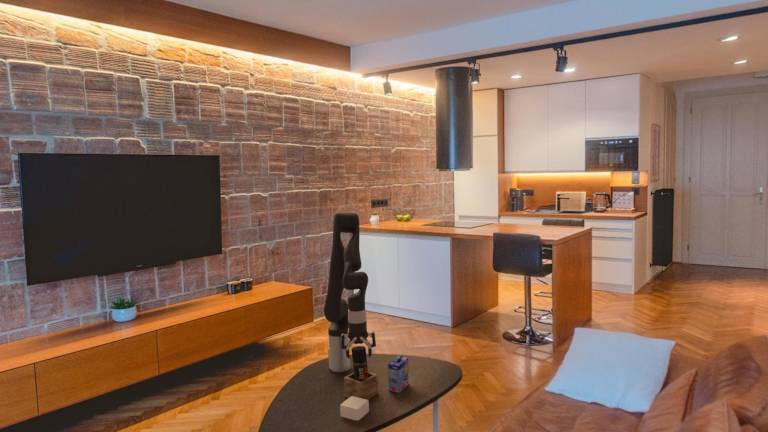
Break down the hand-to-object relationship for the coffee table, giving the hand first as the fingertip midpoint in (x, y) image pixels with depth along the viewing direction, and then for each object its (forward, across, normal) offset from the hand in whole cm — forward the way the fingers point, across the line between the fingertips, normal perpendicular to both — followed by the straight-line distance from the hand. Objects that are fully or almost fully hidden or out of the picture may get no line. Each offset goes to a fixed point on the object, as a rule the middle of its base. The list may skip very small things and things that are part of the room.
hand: (359, 357), depth 221 cm
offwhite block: (+17, -3, -16) cm, 23 cm away
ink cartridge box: (+17, +16, +4) cm, 24 cm away
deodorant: (+12, +1, 0) cm, 12 cm away
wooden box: (+17, 0, 0) cm, 17 cm away
